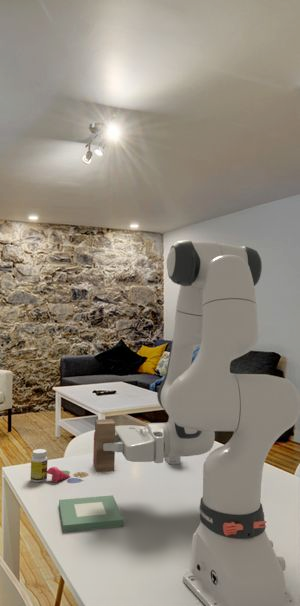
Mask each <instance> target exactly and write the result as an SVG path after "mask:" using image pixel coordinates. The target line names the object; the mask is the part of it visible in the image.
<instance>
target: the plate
mask: <svg viewBox="0 0 300 606" xmlns="http://www.w3.org/2000/svg"><path fill="white" fill-rule="evenodd" d="M58 508H59V514H60V520H61V528H62V529H61V530H62V533H65V532H67V533H68V532H76V531H77V532H78V531H85V530H86V531H88V530H96V529H104V528H116V527H124V520H125V519H124V517H123V516H122V512H121V511H120V508H119V506H118V504H117V502H116V499H115V497H114V495H100V496H99V495H98V496H89V497H88V496H87V497H79V498H78V497H77V498H67V499H66V498H64V499H58Z"/></svg>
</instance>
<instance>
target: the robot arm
mask: <svg viewBox="0 0 300 606" xmlns="http://www.w3.org/2000/svg"><path fill="white" fill-rule="evenodd" d="M166 269H167V276H168V278H169V279H170V280H171V282H172V283H173V284H175V285H179V286H180V287H179V290H178V295H177V301H176V306H175V307H176V308H175V316H174V324H173V325H174V326H173V336H172V340H171V345H170V352H169V356H168V362H167V368H166V372H165V376H164V378H162V379H163V380H162V381H161V382H160V385H159V387H158V389H157V393H156V394H157V396H156V398H157V401H158V404H159V406H161V408H162V409H163V410H164V411H165V413H166V414H167V415H168V420H167V422H152V423H151V422H150V423H149V422H147V423H145V425H144V428H141V427H140V426H137V425H115V443H110V442H104V443H103V450H104V451H114V452H115V453H122V456H124V458H125V460H126V461H128V462H135V463H147V462H149V463H150V462H153V463H155V464H161V463H164V459H165V458H167V457H170V456H174V455H176V456H180V458H181V457H193V456H199V455H203V454H206V453H208V452H210V451H211V450H212V448H213V446H214V443H215V440H216V436H215V435H216V433H215V432H233V433H232V436H231V438H230V439H229V440H228V441H227V442H226V443H225V444H223V445H221V446H219V447H217V448H215V449H213V450H212V451H211V452H210V453H209V454H208V455H207V457H206V459H205V460H204V462H203V469H202V471H203V473H202V496H201V498H200V504H199V520H200V523H199V525H198V527H197V528H196V530H195V531H194V533H193V534H192V539H191V540H192V542H191V551H190V562H189V563H190V564H189V568H188V569H187V570H186V571H184V573H183V575H182V582H183V583H184V584H185V585H186V586H187V587H188V589H190V590H191V592H192V593H194V596H196V597H197V598H198V599H199V600H200V601H201V602H202V603H203V605H204V606H205V605H206V606H298V604H297V602H296V601H295V599H294V598H293V595H292V594H291V593H290V592H291V591H290V590H289V588H288V587H287V585H286V580H285V574H284V572H285V571H286V567H287V566H286V562H285V561H286V560H285V558H284V557H282V556H277V553H276V552H275V549H274V542H273V540H270V539H269V537H268V534H267V532H266V528H267V525H266V523H267V521H266V520H265V512H264V508H263V504H262V503H261V493H262V480H263V471H264V465H265V461H266V459H267V457H268V454H269V452H270V450H271V448H272V447H273V445H274V444H275V443H276V441H277V440H278V439H279V438H280V437H281V436H282V435H283V434H284V433H285V432H286V431H288V430H289V429H291V428H292V427H293V426H294V425H295V424H296V423H297V421H298V419H299V417H300V393H299V391H298V389H297V387H296V386H295V385H294V383H293V382H292V381H291V380H290V379H288V378H283V377H282V376H281V377H280V376H276V375H271V374H265V373H264V374H262V373H261V374H259V373H257V374H256V373H234V372H233V373H232V372H231V369H230V368H231V363H232V361H234V360H235V359H238V358H240V357H242V356H244V355H246V354H248V353H249V352H251V351H252V350H254V349H255V347H256V346H257V343H258V341H259V329H258V328H259V326H258V325H259V324H258V311H257V309H258V307H257V297H256V290H255V286H256V285H257V284H258V283H259V281H260V278H261V275H262V259H261V256H260V254H259V253H258V251H257V250H255V249H254V248H252V247H248V246H245V245H240V246H239V245H235V244H229V243H223V242H218V241H212V240H195V241H194V240H191V239H183V240H177V241H176V242H175V243H173V244H172V245H171V247H170V249H169V252H168V255H167V257H166ZM198 347H199V350H198V352H197V355H196V356H195V358H194V360H193V356H194V352H195V350H196V349H197V348H198ZM192 361H193V362H192Z"/></svg>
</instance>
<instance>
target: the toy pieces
mask: <svg viewBox="0 0 300 606" xmlns="http://www.w3.org/2000/svg"><path fill="white" fill-rule="evenodd" d="M46 473H47V475H48V474H49V475H51V481H52V482H53V483H58V482H61V481H63V480H66V479H67V480H66V482H67V484H79V483H82V482H84V481H85V480H83V479H82V478H86V477H88V476H89V473H88V472H84V471H78V472H75V473H73V474H72V475H73V477H71V475H70V473H71V471H69V470H61V469H59V468H58V467H57V466H52V467H50V468H48V469H47V472H46Z"/></svg>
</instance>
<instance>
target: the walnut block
mask: <svg viewBox="0 0 300 606" xmlns="http://www.w3.org/2000/svg"><path fill="white" fill-rule="evenodd" d="M115 426H116V422H115V420H114V419H113V418H108V419H107V418H105V419H104V418H103V419H101V418H100V419H94V432H95V450H94V449H93V454H94V464H93V466H94V469H95V472H96V473H107V472H109V473H110V472H115V464H116V463H115V461H116V460H115V459H116V458H115V456H116V455H115V454H116V452H114V451H104V450H103V443H104V442H110V443H115Z"/></svg>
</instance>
